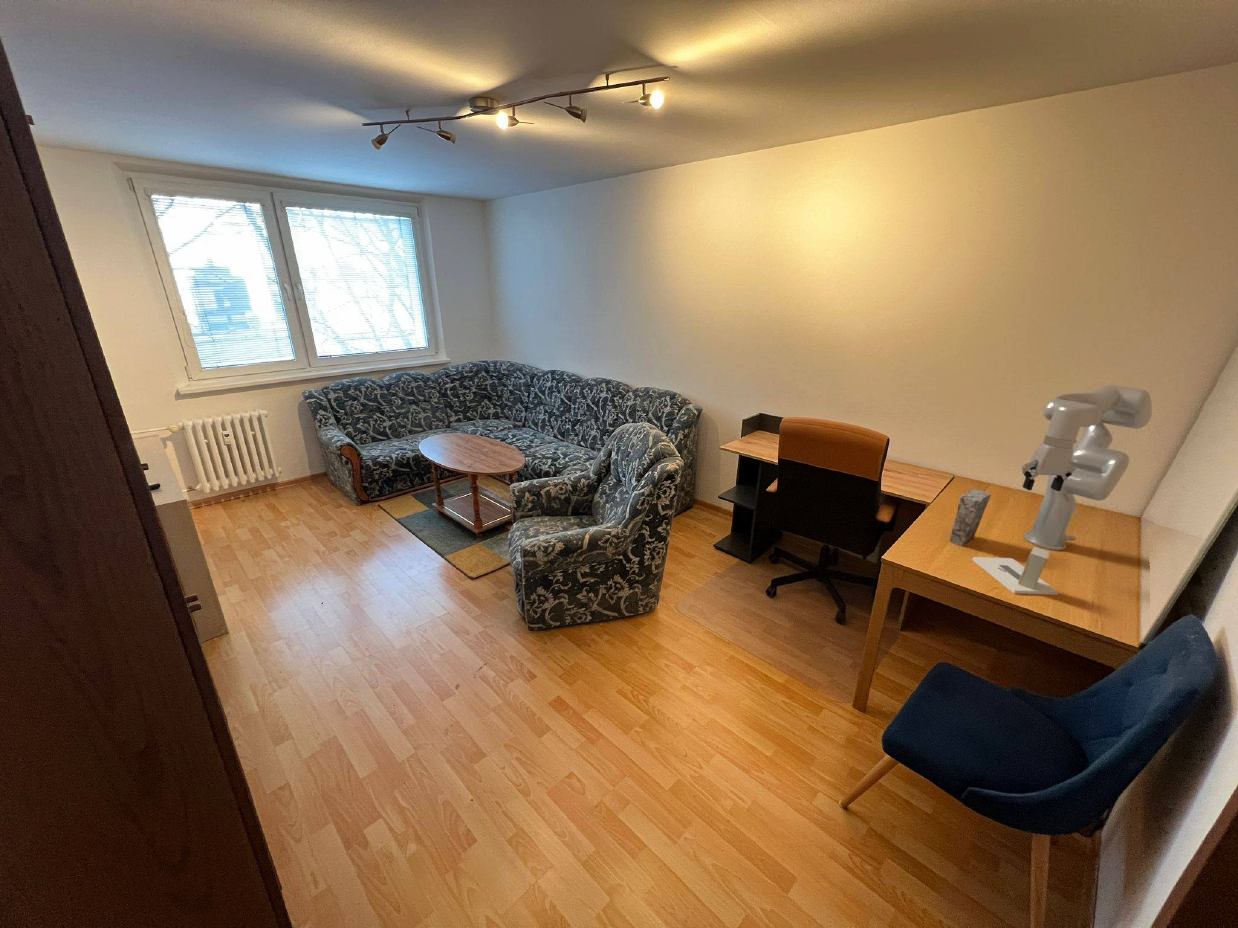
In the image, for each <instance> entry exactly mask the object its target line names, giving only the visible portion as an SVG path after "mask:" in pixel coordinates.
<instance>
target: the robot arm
mask: <svg viewBox="0 0 1238 928" xmlns="http://www.w3.org/2000/svg"><path fill="white" fill-rule="evenodd" d="M1152 410H1153V407H1152V397H1151V395H1150V393H1149V392H1148V391H1147V390H1145V389H1141V388H1135V387H1128V386H1122V385H1121V386H1120V385H1111V384H1110V385H1108V384H1107V385H1106V384H1105V385H1102V386H1099V387H1097V388H1095V389H1094V390H1093V389H1092V391H1090V392H1077V393H1064V394H1063V393H1062V394H1059V395H1057V396H1055V397H1054V398H1052V399H1050V400H1049V401H1048V402H1047V403H1046V404H1045V406H1044V408H1043V410H1042V412H1043V413H1042V414H1043V417H1044V418H1045V419H1046V420H1048V421H1050V422H1049V425H1048V427H1047V431H1046V433H1045V436H1044V439H1043V440H1042V441H1043V442H1042V443H1039V445H1038V446H1037V447H1036V449H1035V451H1034V453H1033V455H1032V457H1031V459H1030V461H1029V462H1028V463H1025V464H1022V465H1021V469H1022V474H1023V476H1024V477H1025V478H1024V480H1023V483H1022V488H1023V489H1025V490H1027V491H1032V490H1033V487H1034V484H1035V481H1036V479H1035V478H1037V477H1038V476H1039V475H1041V476H1048V478H1047V486H1046V489H1045V494H1044V497H1043V498H1042V499H1043V500H1042V501H1041V504H1040V506H1039V510H1038V512H1037V515H1036V518H1035V520H1034V523H1033V525H1032V528H1031V530H1030V531H1026V532H1025V533H1024V534H1023V538H1024V539H1025V541H1027V542H1029V543H1030V544H1032V545H1035V546H1037V547H1040V548H1043V549H1048V550H1053V551H1054V550H1055V551H1063V550H1065V549H1066V547H1067V544H1066V541H1075V540H1076V536H1075V535H1069V534H1068V535H1067V530H1068V528H1069V525H1070V522H1071V520H1072V518H1073V516H1074V513H1075V511H1076V509H1077V500H1076V498H1075V496H1074V495H1076V496H1079V497H1083V498H1086V499H1089V500H1092V501H1093V500H1094V501H1100V502H1101V501H1103V500H1104V501H1105V500H1106V499H1107V498H1108V497H1109V496H1110V495H1111V493H1112V492H1113V491H1114V489H1115V487H1116V486H1117V485H1118V484H1119V481H1120V480H1121V478H1122V477H1123V476H1124V474H1125V472H1126V470H1127V468H1128V467H1129V463H1130V457H1129V455H1128V454H1127V453H1125V452H1123V451H1120V450H1117V449H1112V448H1109V447H1110V445H1111V444H1112V442H1113V435H1112V433H1111V431H1110V430H1109V429H1108V427H1106V425H1105V424H1107V425H1112V426H1118V427H1121V428H1127V429H1135V430H1136V429H1137V430H1139V429H1142V428H1144V427H1146V426H1147V425H1148V424H1149V423H1150V420H1151V418H1152V413H1153V411H1152ZM1081 428H1082V433H1081V435H1080V437H1079V439H1078V440H1077V437H1078V434H1079V432H1080V429H1081Z"/></svg>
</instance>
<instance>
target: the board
mask: <svg viewBox="0 0 1238 928" xmlns="http://www.w3.org/2000/svg"><path fill="white" fill-rule="evenodd" d="M972 561H973V562H974V563H975V564H977V565H978V566H979V567H980V568H982V569H983V570H984V571H985V572H986V573H988V574H989V575H990V576H992V577H993V578H994V579H995V580H997V581H998V582H999V583H1000V584H1001V585H1003V586H1004V587H1005V588H1006V589H1008V590H1009V591H1010V592H1012V594H1014V595H1015V594H1016V595H1017V594H1019V595H1020V594H1021V595H1022V594H1023V595H1025V594H1026V595H1048V596H1050V595H1053V596H1058V594H1059V591H1058V590H1057V589H1056V588H1054V587H1053V586H1051V585H1050V584H1049V583H1047V582H1046V581H1045V580H1043V579H1042V578H1040V577H1039V579H1038V581H1037V584H1036V586H1035V588H1034V589H1031V588H1028V587H1025V586H1023V585H1020V584H1018V582H1019V579H1020V577H1021V575H1022V572H1023V570H1024V568H1025V565H1022V564H1021V563H1020V562H1018V561H1017V560H1016V559H1014V558H1010V557H987V556H986V557H983V556H982V557H981V556H978V557H977V556H973V557H972Z"/></svg>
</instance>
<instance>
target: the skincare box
mask: <svg viewBox="0 0 1238 928" xmlns="http://www.w3.org/2000/svg"><path fill="white" fill-rule="evenodd" d="M1050 553H1051V552H1050V551H1049V550H1045V549H1044V548H1043V549H1042V548H1041V547H1040V548H1039V547H1038V546H1037V547H1036V546H1033V547H1032V549H1031V551H1030V554H1029V556H1028V558H1027V561H1026V563H1025V565H1024V567H1025V568H1024V570H1023V572H1022V575H1021V577H1020V579H1019V582H1018V584H1020V585H1023V586H1025V587H1028V588H1031V589H1034V588H1035V586H1036V584H1037V581H1038V579H1039V578H1040V577H1041V575H1042V572H1043V571H1044V567H1045V566H1046V563H1047V561H1048V560H1049V557H1050Z"/></svg>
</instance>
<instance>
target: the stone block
mask: <svg viewBox="0 0 1238 928" xmlns="http://www.w3.org/2000/svg"><path fill="white" fill-rule="evenodd" d="M990 498H991V493H988V492H986V491H982V490H980V489H977V488H973V489H972V490H970V491H968V492H967V493H963V494H962V495H961V496H960V499H959V503H958V506H957V511H956V515H955V519H954V524H953V527H952V530H951V534H950V538H949V541H950V542H951V543H953V544H956V545H958V546H961V547H965V546H967V544H969V543H970V542H971V541H972V540H973V539H975V536H976V533H977V531H978V528H979V526H980V524H981V521H982V518H983V516H984V513H985V510H986V508H987V506H988V502H989V501H990V500H991V499H990Z"/></svg>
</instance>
